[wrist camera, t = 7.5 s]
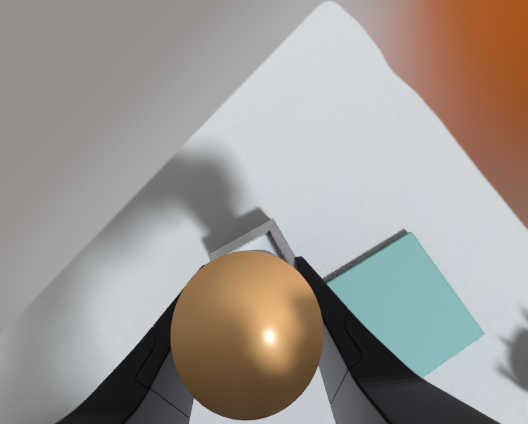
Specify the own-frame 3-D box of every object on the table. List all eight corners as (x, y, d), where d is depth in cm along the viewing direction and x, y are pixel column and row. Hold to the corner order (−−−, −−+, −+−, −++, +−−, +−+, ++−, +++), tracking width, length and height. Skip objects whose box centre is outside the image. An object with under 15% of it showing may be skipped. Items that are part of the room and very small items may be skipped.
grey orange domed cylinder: (249, 313, 16) (211, 457, 5) (225, 265, 16) (147, 296, 6) (294, 286, 16) (354, 363, 5) (269, 240, 17) (275, 225, 6)
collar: (245, 317, 22) (243, 326, 19) (214, 253, 23) (208, 254, 21) (306, 281, 22) (311, 285, 20) (272, 221, 24) (273, 218, 21)
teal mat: (386, 396, 20) (390, 400, 20) (321, 285, 22) (323, 286, 22) (478, 331, 21) (485, 333, 21) (408, 232, 24) (411, 232, 23)
